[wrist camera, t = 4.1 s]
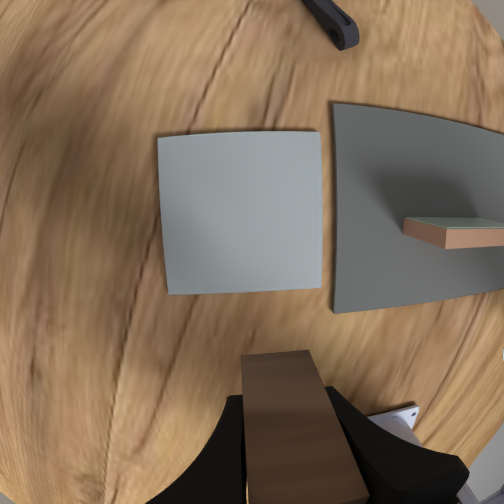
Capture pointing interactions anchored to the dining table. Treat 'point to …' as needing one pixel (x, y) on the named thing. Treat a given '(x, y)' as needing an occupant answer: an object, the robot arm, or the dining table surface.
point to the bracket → (335, 22)
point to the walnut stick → (294, 435)
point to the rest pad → (241, 211)
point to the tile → (455, 231)
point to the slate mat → (410, 207)
